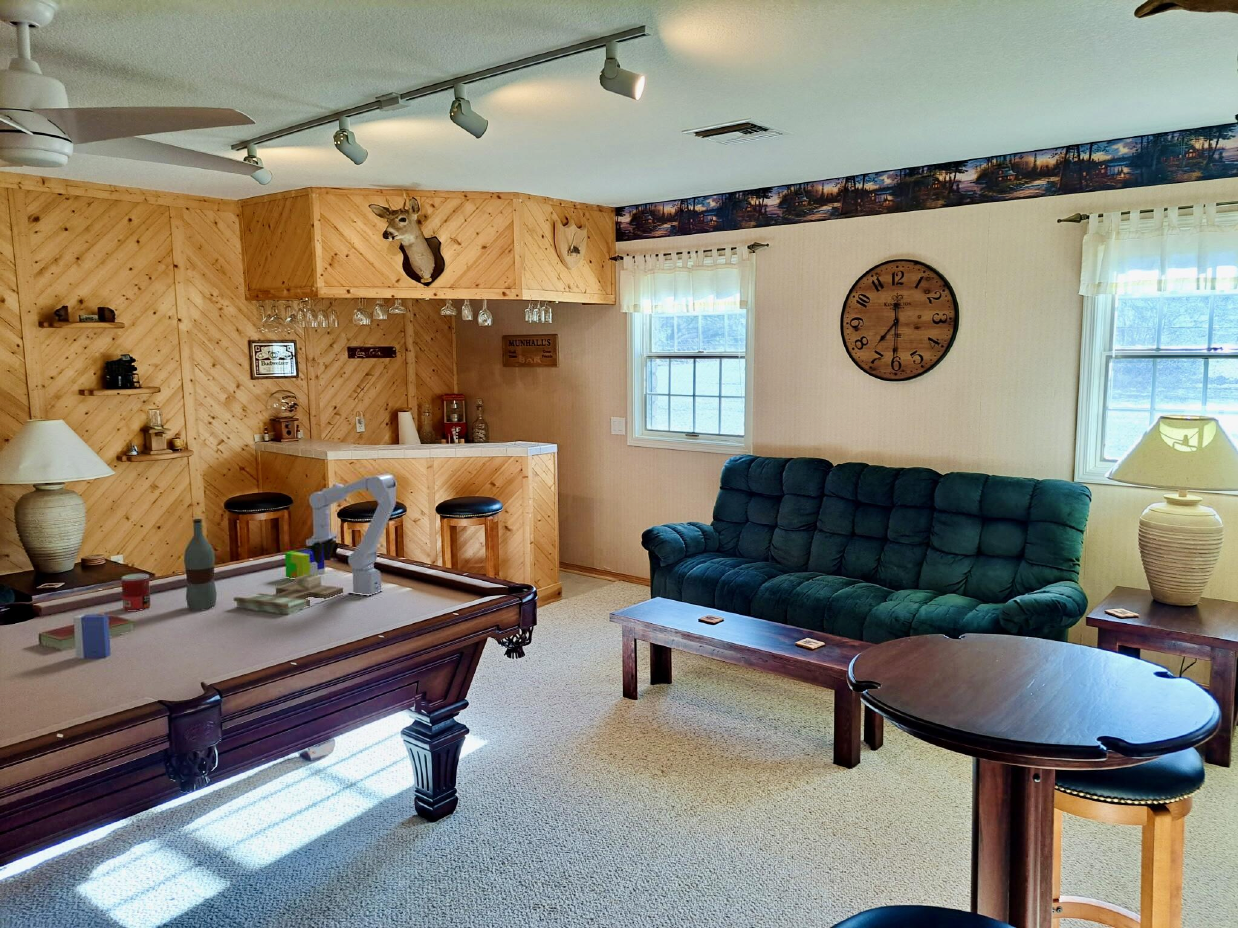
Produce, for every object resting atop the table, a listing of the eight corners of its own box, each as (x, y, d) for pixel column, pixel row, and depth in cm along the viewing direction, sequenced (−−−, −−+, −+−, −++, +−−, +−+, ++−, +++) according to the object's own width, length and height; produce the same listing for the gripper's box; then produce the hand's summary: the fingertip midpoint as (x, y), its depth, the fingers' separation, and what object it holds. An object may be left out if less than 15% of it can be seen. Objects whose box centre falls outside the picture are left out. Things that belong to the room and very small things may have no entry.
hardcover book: (39, 645, 246) (38, 631, 246) (112, 626, 265) (111, 613, 264) (61, 652, 241) (60, 638, 240) (134, 633, 259) (134, 619, 258)
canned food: (148, 610, 281) (147, 577, 280) (121, 612, 278) (119, 579, 277) (152, 604, 288) (150, 572, 287) (125, 606, 286) (123, 574, 284)
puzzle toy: (324, 576, 328) (323, 551, 327) (302, 581, 320) (302, 555, 319) (307, 573, 333) (307, 548, 332) (286, 578, 325) (285, 552, 324)
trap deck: (343, 594, 302) (342, 584, 301) (286, 615, 276) (285, 604, 276) (294, 588, 310) (293, 578, 309) (234, 608, 284) (233, 597, 283)
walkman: (110, 654, 238) (108, 612, 237) (105, 657, 235) (103, 615, 234) (81, 655, 237) (78, 613, 236) (75, 658, 235) (73, 616, 233)
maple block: (320, 586, 303) (320, 575, 302) (309, 590, 297) (308, 579, 297) (307, 585, 305) (307, 574, 304) (295, 589, 299) (295, 578, 299)
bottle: (222, 603, 289) (218, 517, 286) (207, 611, 280) (202, 522, 277) (196, 603, 290) (192, 516, 287) (180, 610, 281) (175, 521, 278)
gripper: (326, 520, 314) (327, 556, 316) (298, 527, 301) (300, 564, 302) (342, 521, 312) (343, 558, 313) (314, 528, 298) (315, 566, 300)
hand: (323, 561), depth 307 cm, fingers open, 4 cm apart
